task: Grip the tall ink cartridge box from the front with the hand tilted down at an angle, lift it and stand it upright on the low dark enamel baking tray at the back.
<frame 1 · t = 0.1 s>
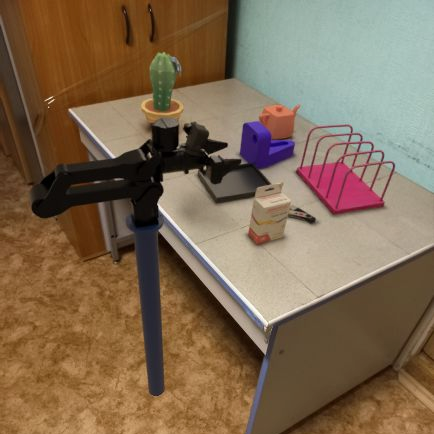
hand: (234, 152, 112), 16 cm above the table, tool horizontal, fingers open, 9 cm apart
file sorter: (337, 189, 134), on the table
potted cactus: (162, 128, 156), on the table
ink cartridge box: (265, 236, 114), on the table
usb flash drive: (298, 217, 121), on the table
bracket: (269, 158, 146), on the table
teapot: (276, 134, 159), on the table
baking tray: (235, 184, 132), on the table
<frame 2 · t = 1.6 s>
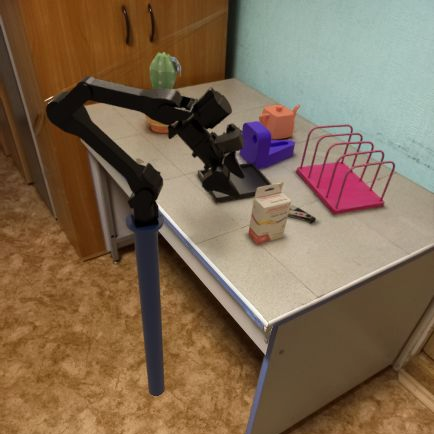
hand: (241, 187, 105), 14 cm above the table, tool tilted 45°, fingers open, 9 cm apart
nothing on the table moved.
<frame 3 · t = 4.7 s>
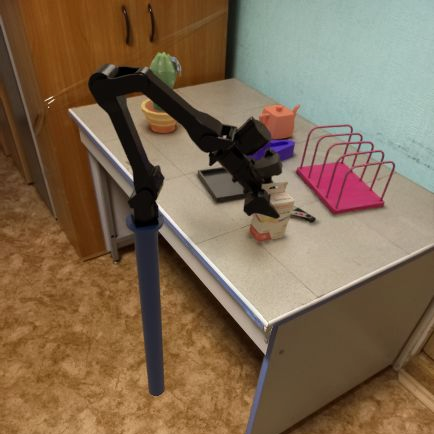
hand: (278, 208, 108), 9 cm above the table, tool tilted 50°, fingers closed on ink cartridge box, 8 cm apart
ink cartridge box: (266, 235, 114), on the table, touching gripper
everything else where it was.
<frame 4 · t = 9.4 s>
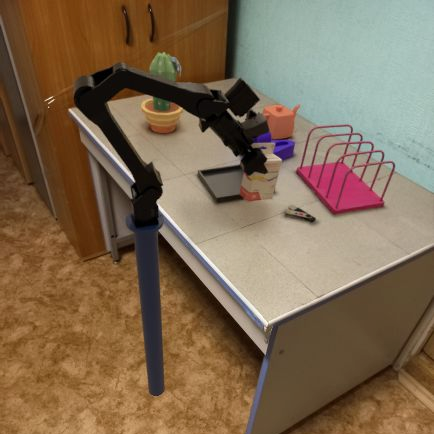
hand: (263, 167, 114), 13 cm above the table, tool tilted 45°, fingers closed on ink cartridge box, 5 cm apart
ink cartridge box: (255, 197, 119), point 4 cm above the table, touching gripper
everything else where it was.
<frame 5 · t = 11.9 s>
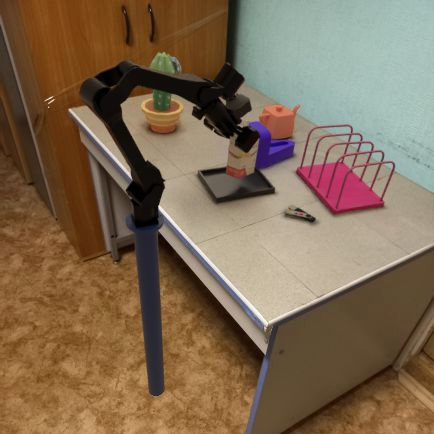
hand: (244, 144, 123), 13 cm above the table, tool tilted 45°, fingers closed on ink cartridge box, 5 cm apart
ink cartridge box: (240, 174, 128), point 4 cm above the table, touching gripper
everything else where it was.
when the fingers open (10 cm above the table, at t = 14.3 s): ink cartridge box stays where it is, resting on baking tray.
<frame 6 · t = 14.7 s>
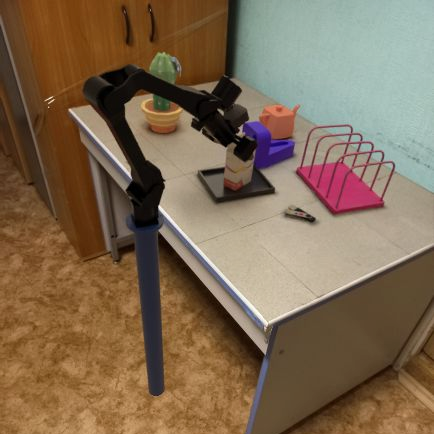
hand: (242, 152, 125), 10 cm above the table, tool tilted 45°, fingers open, 9 cm apart
ink cartridge box: (237, 184, 131), resting on baking tray
everything else where it was.
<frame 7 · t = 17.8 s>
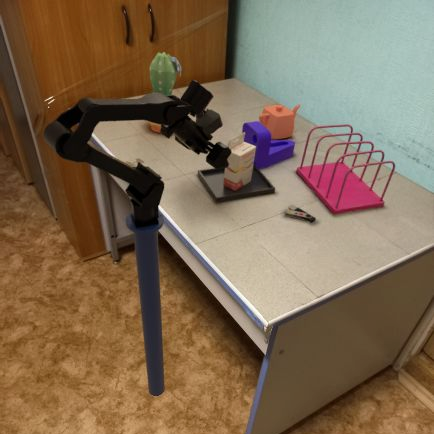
hand: (217, 159, 120), 11 cm above the table, tool tilted 45°, fingers open, 9 cm apart
nothing on the table moved.
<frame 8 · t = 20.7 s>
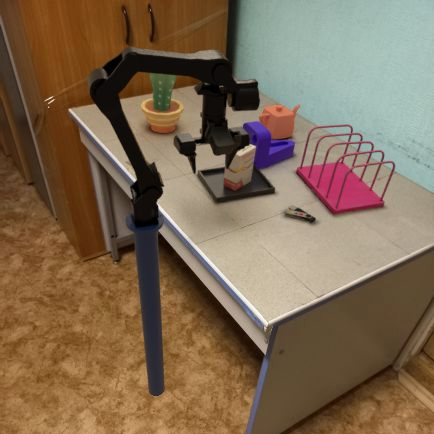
hand: (210, 170, 111), 13 cm above the table, tool pointing down, fingers open, 9 cm apart
nothing on the table moved.
at the end: ink cartridge box inside the target area in the baking tray (0.9 cm from its centre), point 0.4 cm above the baking tray's base; ink cartridge box tilted 0° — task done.
